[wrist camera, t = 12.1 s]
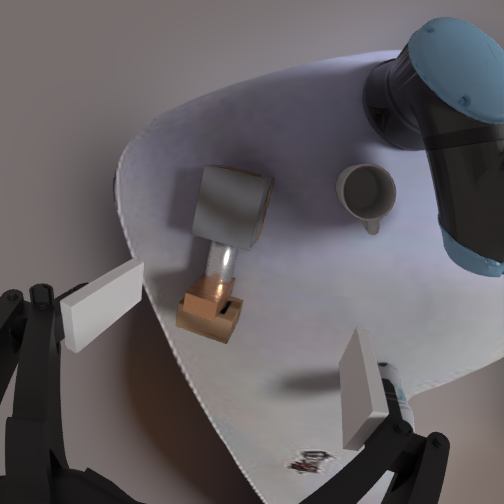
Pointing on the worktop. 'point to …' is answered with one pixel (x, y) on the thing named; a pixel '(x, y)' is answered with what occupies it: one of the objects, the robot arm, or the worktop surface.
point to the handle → (213, 283)
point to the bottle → (398, 391)
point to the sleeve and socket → (227, 232)
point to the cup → (366, 193)
